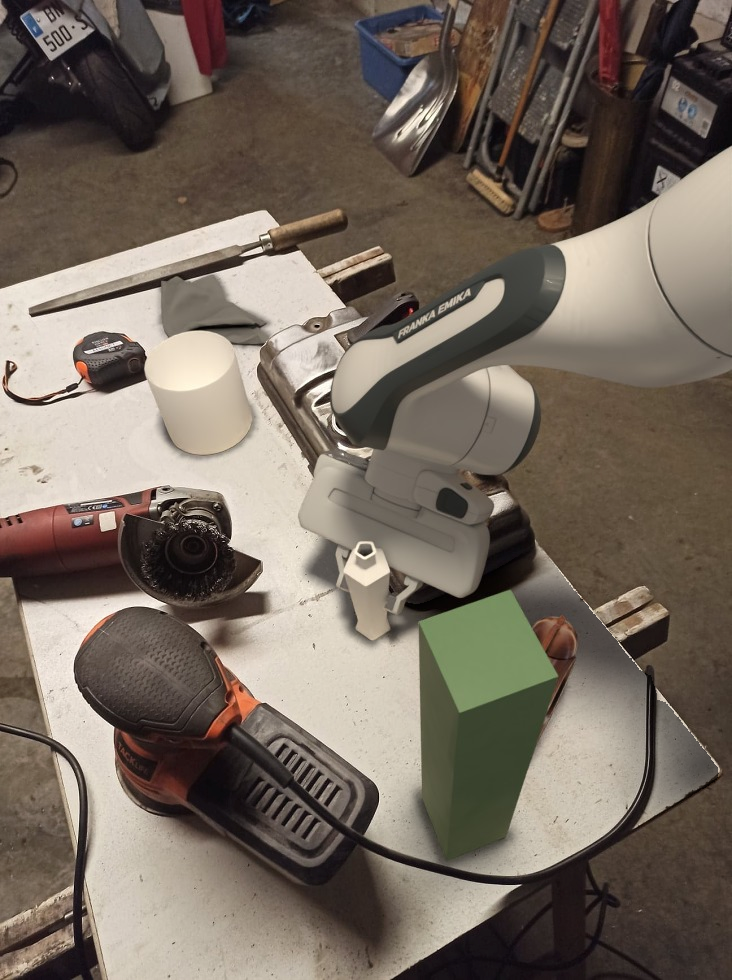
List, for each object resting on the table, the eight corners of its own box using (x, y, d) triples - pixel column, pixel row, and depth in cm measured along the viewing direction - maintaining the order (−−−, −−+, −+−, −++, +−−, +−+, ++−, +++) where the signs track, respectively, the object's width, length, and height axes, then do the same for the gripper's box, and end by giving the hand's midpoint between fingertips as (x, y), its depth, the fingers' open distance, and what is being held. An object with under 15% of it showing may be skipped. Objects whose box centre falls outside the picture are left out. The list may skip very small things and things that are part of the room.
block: (506, 836, 68) (559, 676, 41) (446, 861, 67) (459, 713, 40) (479, 774, 72) (510, 588, 45) (421, 796, 71) (418, 621, 44)
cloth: (132, 296, 124) (128, 285, 122) (204, 264, 128) (201, 252, 127) (205, 379, 110) (202, 367, 108) (283, 339, 114) (281, 327, 113)
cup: (172, 400, 108) (147, 335, 98) (251, 390, 108) (235, 325, 98) (166, 460, 100) (140, 396, 91) (252, 450, 100) (234, 385, 91)
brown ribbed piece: (523, 771, 72) (542, 711, 60) (479, 745, 74) (488, 682, 62) (569, 681, 77) (594, 610, 65) (527, 659, 79) (544, 586, 67)
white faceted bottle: (386, 648, 81) (380, 575, 69) (349, 636, 82) (337, 563, 70) (399, 612, 84) (396, 537, 72) (363, 602, 85) (354, 525, 73)
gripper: (309, 442, 76) (271, 565, 78) (494, 515, 68) (446, 648, 71) (336, 442, 81) (300, 557, 84) (509, 510, 74) (464, 633, 77)
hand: (368, 600), depth 77 cm, fingers closed on white faceted bottle, 4 cm apart
